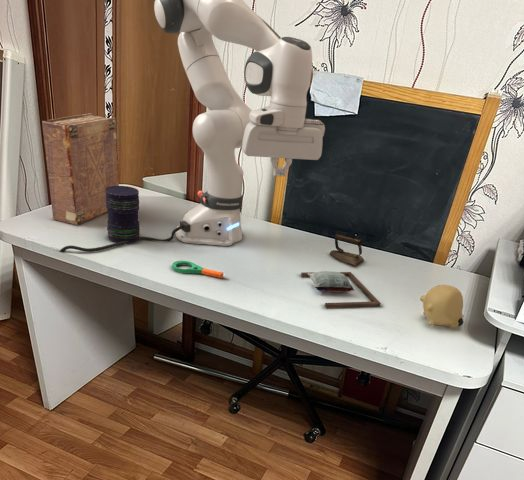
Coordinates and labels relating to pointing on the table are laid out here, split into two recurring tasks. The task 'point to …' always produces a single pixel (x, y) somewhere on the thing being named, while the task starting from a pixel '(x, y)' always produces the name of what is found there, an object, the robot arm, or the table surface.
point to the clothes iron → (346, 256)
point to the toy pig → (443, 306)
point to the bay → (351, 304)
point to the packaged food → (331, 282)
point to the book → (80, 165)
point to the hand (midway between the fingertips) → (279, 175)
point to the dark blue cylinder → (122, 214)
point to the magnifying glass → (195, 269)
